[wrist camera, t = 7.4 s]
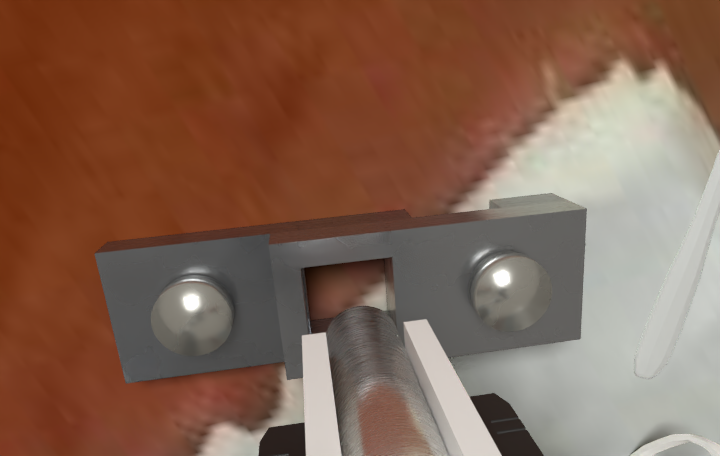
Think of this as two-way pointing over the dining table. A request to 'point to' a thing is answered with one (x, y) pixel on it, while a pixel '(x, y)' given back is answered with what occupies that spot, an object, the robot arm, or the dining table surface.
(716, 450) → the cup
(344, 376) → the metal pin
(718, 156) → the butter knife
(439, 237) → the grey bolted bracket
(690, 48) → the dining table surface
